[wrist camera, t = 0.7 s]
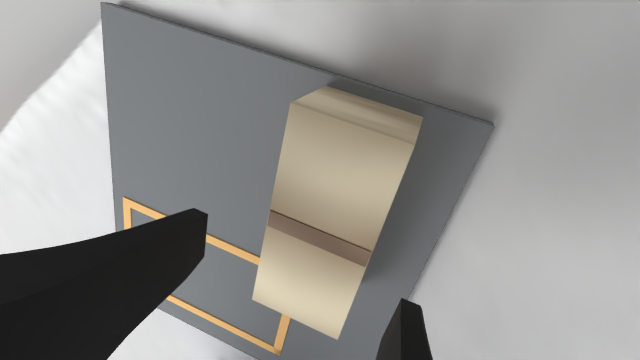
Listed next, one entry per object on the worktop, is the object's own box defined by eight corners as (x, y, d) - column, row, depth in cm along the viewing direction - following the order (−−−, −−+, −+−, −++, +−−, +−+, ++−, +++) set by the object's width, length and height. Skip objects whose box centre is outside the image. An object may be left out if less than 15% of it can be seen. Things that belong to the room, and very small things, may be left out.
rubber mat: (354, 399, 24) (352, 409, 24) (125, 284, 28) (118, 289, 27) (492, 123, 14) (494, 127, 14) (110, 2, 18) (98, 1, 18)
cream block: (357, 283, 19) (337, 340, 16) (285, 252, 20) (251, 300, 17) (423, 116, 15) (414, 145, 11) (325, 85, 15) (289, 103, 12)
